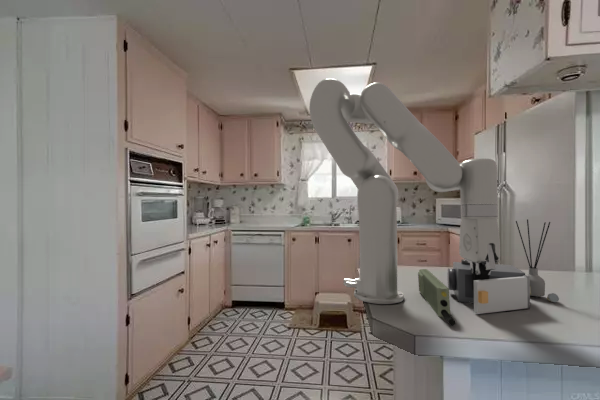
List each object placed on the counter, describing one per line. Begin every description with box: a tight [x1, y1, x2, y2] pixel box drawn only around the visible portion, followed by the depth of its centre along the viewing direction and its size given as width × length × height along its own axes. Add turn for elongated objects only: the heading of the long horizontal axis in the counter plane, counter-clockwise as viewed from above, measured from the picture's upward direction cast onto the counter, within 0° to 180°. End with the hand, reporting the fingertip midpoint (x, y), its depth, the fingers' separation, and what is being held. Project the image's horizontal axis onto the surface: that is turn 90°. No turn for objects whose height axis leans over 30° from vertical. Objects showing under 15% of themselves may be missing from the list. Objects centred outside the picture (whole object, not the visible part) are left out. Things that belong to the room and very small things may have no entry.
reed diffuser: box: [515, 219, 560, 303], centre depth 80 cm, size 10×7×20 cm
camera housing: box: [446, 258, 526, 304], centre depth 79 cm, size 16×10×9 cm, turn 70°
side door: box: [473, 274, 531, 315], centre depth 69 cm, size 15×2×7 cm, turn 105°
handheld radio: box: [417, 268, 457, 326], centre depth 73 cm, size 7×3×25 cm
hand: (480, 291), depth 72 cm, fingers closed
